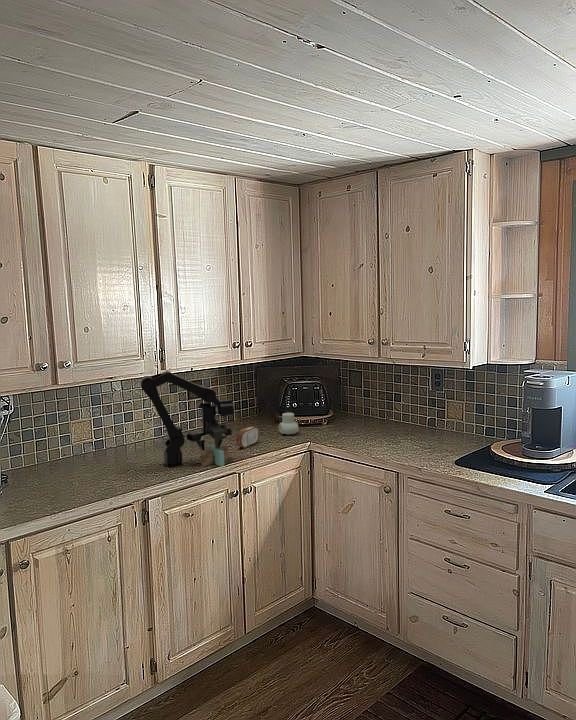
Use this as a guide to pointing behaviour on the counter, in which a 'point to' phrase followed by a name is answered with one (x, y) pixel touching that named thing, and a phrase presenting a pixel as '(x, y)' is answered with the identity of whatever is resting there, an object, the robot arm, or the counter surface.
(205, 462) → the notched walnut block
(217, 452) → the notched teal slat
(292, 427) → the air freshener
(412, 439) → the counter surface
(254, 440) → the tin
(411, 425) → the counter surface
